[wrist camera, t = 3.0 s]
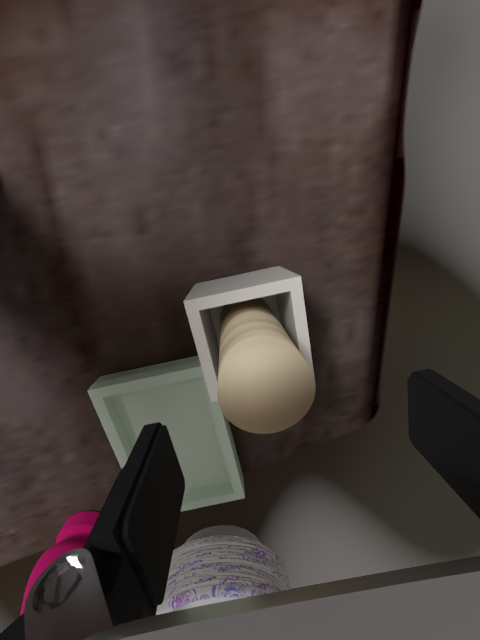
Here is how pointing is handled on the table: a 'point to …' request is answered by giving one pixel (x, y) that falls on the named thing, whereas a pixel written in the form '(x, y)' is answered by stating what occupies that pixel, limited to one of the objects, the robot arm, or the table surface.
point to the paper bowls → (221, 569)
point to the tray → (173, 425)
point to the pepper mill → (64, 543)
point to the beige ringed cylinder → (260, 370)
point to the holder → (269, 284)
